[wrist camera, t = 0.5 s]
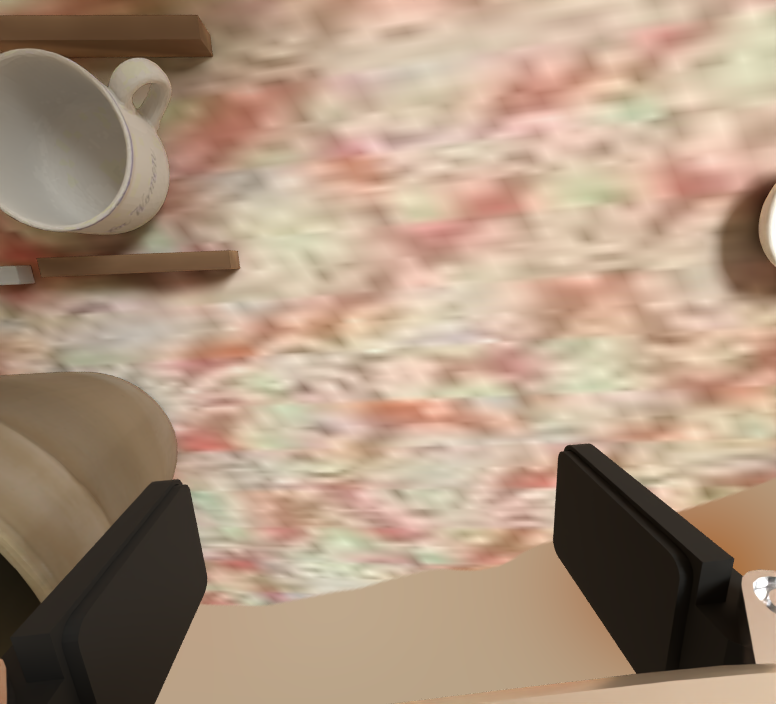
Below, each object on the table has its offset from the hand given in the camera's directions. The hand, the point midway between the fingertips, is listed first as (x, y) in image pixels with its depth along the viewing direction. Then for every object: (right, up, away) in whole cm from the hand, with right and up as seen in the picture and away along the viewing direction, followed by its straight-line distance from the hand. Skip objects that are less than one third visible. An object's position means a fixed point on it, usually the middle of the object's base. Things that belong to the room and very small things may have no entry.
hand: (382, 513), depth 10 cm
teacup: (-21, +20, +23) cm, 37 cm away
